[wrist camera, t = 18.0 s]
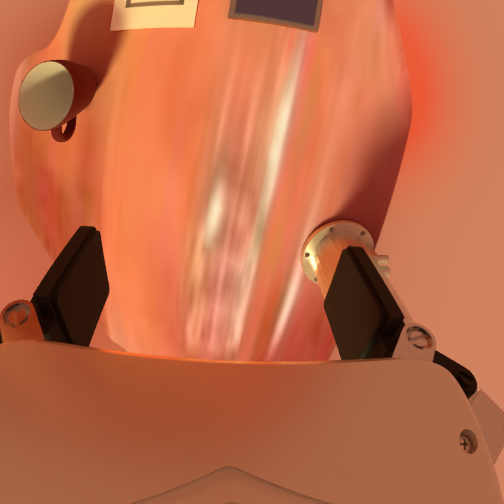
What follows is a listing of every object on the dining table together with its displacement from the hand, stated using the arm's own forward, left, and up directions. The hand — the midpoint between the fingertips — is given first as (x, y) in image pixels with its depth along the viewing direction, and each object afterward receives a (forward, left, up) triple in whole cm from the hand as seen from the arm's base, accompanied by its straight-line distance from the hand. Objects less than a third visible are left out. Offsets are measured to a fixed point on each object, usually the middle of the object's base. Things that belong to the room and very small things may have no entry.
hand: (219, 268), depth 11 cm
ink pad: (-4, -19, -30) cm, 36 cm away
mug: (+20, -4, -31) cm, 37 cm away
